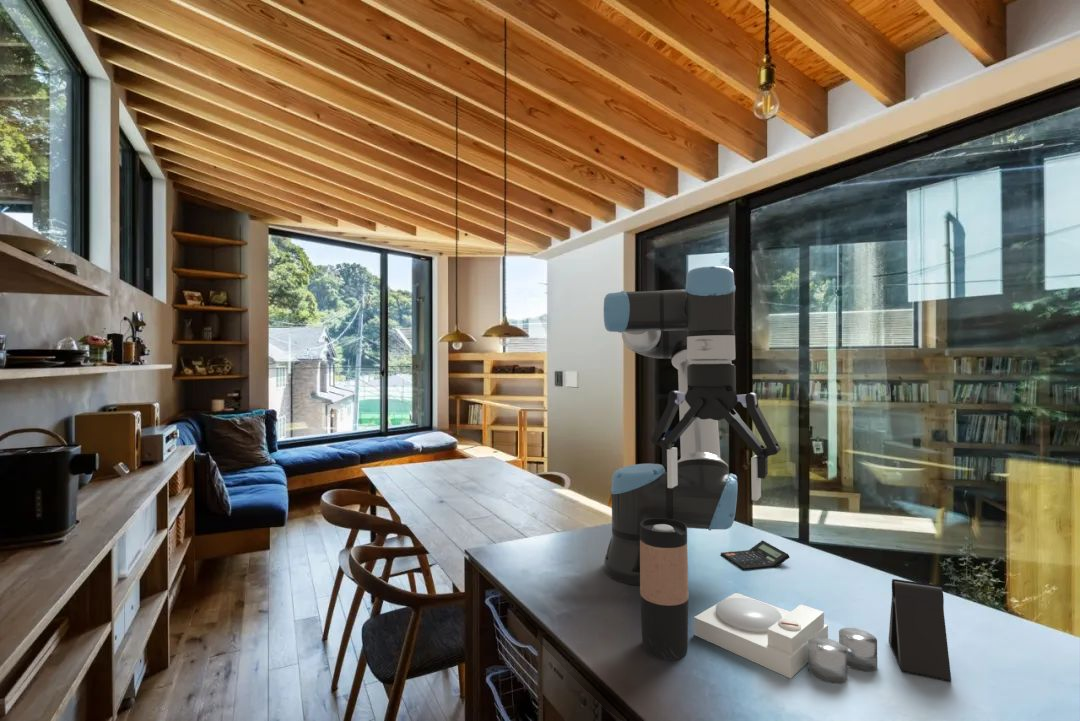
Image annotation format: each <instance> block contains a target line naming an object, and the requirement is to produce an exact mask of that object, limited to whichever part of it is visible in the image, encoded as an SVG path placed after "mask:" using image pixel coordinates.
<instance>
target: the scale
mask: <svg viewBox="0 0 1080 721" xmlns="http://www.w3.org/2000/svg"><path fill="white" fill-rule="evenodd" d="M828 626H829V625H828V624H826V623H825V611H822V610H820V609H816V608H813V607H810V606H807V605H805V604H799V605H798V606H797V607H796V608H794V609H792V610H791V611H789V610H786V609H783V608H781V607H777V606H775V605H772V604H770V603H766V602H764V601H761V600H758V599H755V598H753V597H749V596H746V595H744V594H741V593H739V592H734V593H733V594H731V595H729V596H727V597H725V598H724V599H722V600H720V601H719V602H717V603H715V604H713V606H711V607H709V608H707V609H706V610H704V611H702V612H701V613H699V614H697V615H695V616H693V628H694V629H693V632H694V633H693V634H694V636H695V637H698V638H700V639H702V640H704V641H706V642H709V643H710V644H711V643H712V644H714V645H716V646H719V647H720V648H722V649H724V650H727V651H729V652H731V653H733V654H735V655H737V656H739V657H742V658H745V659H746V660H749V661H750V662H753V663H756V664H758V665H760V666H762V667H765V668H766V669H769V670H771V671H773V672H776V673H777V674H780V675H782V676H783V677H786V678H789V679H792V678H793V677H794V676H795V675H796V674H797V673H798V672H799V671H800V670H801V669H802V668H803V667H804V666H806V665H807V664H808V641H809V640H810V639H811V638H815V637H822V638H828V639H829V627H828Z"/></svg>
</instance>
